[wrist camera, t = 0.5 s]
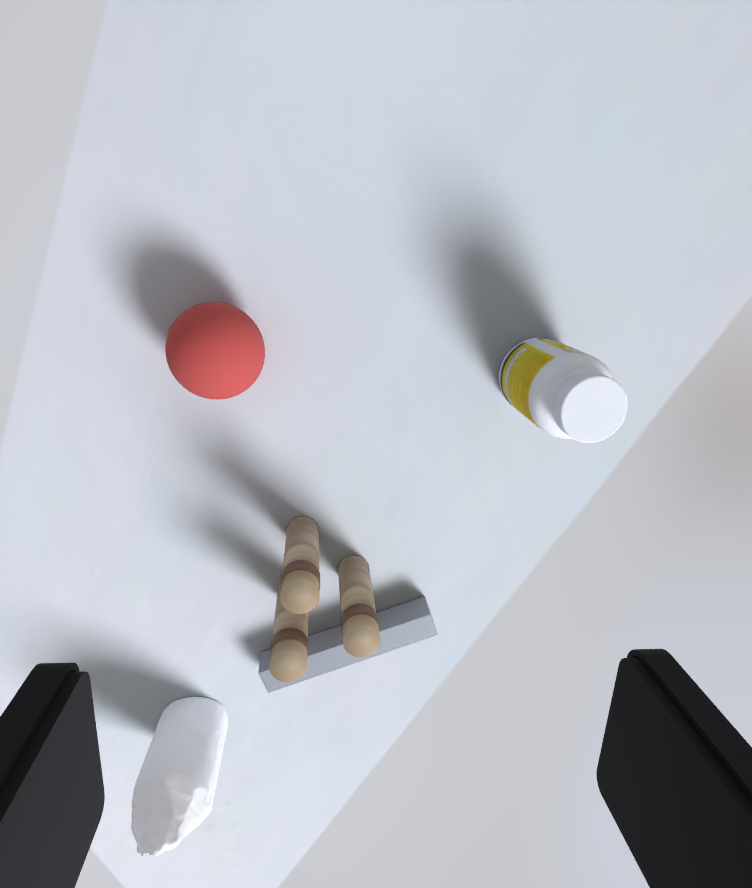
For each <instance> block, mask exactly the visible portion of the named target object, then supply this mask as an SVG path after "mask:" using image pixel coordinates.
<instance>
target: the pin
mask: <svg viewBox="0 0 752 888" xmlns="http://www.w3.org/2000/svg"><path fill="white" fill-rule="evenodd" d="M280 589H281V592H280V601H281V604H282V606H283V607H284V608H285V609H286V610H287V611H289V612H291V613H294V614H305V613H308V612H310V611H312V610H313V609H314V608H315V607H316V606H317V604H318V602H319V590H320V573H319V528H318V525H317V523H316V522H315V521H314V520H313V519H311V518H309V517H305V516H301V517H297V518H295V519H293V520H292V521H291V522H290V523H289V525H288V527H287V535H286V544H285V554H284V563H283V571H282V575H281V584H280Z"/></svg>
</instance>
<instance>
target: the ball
mask: <svg viewBox="0 0 752 888" xmlns="http://www.w3.org/2000/svg"><path fill="white" fill-rule="evenodd" d="M165 350H166V358H167V363H168V365H169V368H170V370H171V372H172V374H173V375H174V377H175V378H176V380H177V381H178V382H179V383H180V384H181V385H182V386H183V387H184V388H186V389H187V390H188V391H190V392H192V393H194V394H195V395H198V396H200V397H204V398H208V399H226V398H230V397H234V396H236V395H239V394H241V393H242V392H244V391H245V390H247V389H248V388H249V387H250V386H251V385H252V384H253V383H254V382H255V381H256V379H257V378H258V376H259V375H260V373H261V370H262V368H263V364H264V358H265V347H264V341H263V338H262V335H261V333H260V330H259V329H258V327H257V325H256V324H255V323H254V321H253V320H252V319H251V318H250V317H249V316H248V315H247V314H245V313H244V312H243V311H241V310H240V309H238V308H236V307H234V306H232V305H228V304H225V303H219V302H209V303H202V304H198V305H195V306H193V307H191V308H189V309H187V310H186V311H184V312H183V313H182V314H181V315H180V316H179V317H178V318H177V319H176V320H175V321H174V323H173V324H172V326H171V328H170V330H169V332H168V335H167V340H166V348H165Z"/></svg>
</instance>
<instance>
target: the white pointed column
mask: <svg viewBox="0 0 752 888" xmlns="http://www.w3.org/2000/svg"><path fill="white" fill-rule="evenodd" d="M227 727H228V716H227V712H226V710H225V708H224V707H223V706H222V705H221V704H220V703H219V702H217V701H215V700H212V699H210V698H205V697H188V698H182V699H178V700H176V701H174V702H172V703H171V704H170V705H168V706H167V707H166V708H165V710H164V711H163V713H162V714H161V716H160V719H159V722H158V725H157V728H156V731H155V733H154V736H153V739H152V741H151V744H150V746H149V749H148V752H147V755H146V757H145V760H144V762H143V765H142V767H141V770H140V773H139V775H138V778H137V781H136V784H135V788H134V792H133V798H132V825H131V828H132V832H133V835H134V837H135V840H136V842H137V852H138V853H141V855H142V856H143V855H144V853H145V854H147V853H149V854H150V855H153V856H154V855H160V854H161V853H162V852H163V851H168V850H172V849H174V848H175V847H176V846H177V845H178V844H179V843H180V842H181V840H182V839H183V838H184V837H185V836H187V835H188V834H189V833H190V832H191V831H192V830H194V829H195V827H197V826H198V825H199V824H200V823H201V822H202V821H203V820H204V819H205V818H206V817H207V816H208V814H209V812H210V811H211V808H212V804H213V799H214V795H215V790H216V785H217V779H218V774H219V769H220V763H221V758H222V753H223V747H224V742H225V738H226V732H227Z"/></svg>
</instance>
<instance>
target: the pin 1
mask: <svg viewBox="0 0 752 888" xmlns="http://www.w3.org/2000/svg"><path fill="white" fill-rule="evenodd" d="M280 584H281V582H280ZM280 584H279V586H278V593H277V602H276V611H275V620H274V629H273V638H272V641H271V649H270V664H269V670H270V673H271V675H272V676H273V677H274V678H275V679H277V680H279V681H281V682H294V681H297V680H299V679H300V678H301V677H303V676H304V674H305V673H306V670H307V658H308V613H305V614H294V613H291V612H289V611H287V610H286V609H285V608H284V607H283V606H282V604H281V601H280V592H281V589H280Z"/></svg>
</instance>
